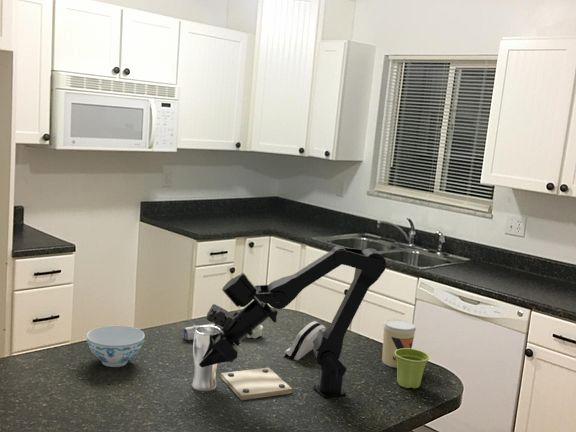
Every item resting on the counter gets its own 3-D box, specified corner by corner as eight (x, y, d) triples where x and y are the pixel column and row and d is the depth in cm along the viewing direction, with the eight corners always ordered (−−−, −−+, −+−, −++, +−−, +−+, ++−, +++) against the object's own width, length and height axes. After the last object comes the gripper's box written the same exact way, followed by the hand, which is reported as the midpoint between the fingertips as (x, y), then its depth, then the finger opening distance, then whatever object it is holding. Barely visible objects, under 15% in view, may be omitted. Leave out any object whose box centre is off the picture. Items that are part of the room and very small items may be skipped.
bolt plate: (291, 393, 162) (292, 387, 162) (241, 400, 156) (241, 394, 156) (268, 371, 175) (268, 366, 174) (220, 377, 168) (221, 372, 168)
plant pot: (384, 383, 174) (388, 352, 173) (402, 374, 181) (405, 345, 180) (414, 395, 168) (418, 363, 167) (431, 385, 175) (435, 355, 174)
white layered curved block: (304, 340, 202) (316, 314, 199) (316, 348, 200) (329, 322, 197) (281, 356, 187) (295, 328, 184) (295, 365, 185) (308, 337, 182)
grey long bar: (181, 325, 195) (259, 311, 204) (183, 345, 196) (260, 331, 205) (185, 330, 190) (264, 316, 199) (187, 351, 192) (265, 336, 201)
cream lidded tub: (390, 370, 184) (395, 330, 182) (373, 358, 192) (378, 319, 190) (417, 367, 187) (422, 328, 185) (399, 355, 196) (404, 318, 194)
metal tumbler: (187, 381, 164) (191, 325, 161) (213, 379, 166) (217, 324, 164) (194, 393, 157) (198, 335, 155) (221, 390, 160) (225, 333, 158)
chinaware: (132, 348, 182) (133, 323, 181) (151, 368, 170) (153, 340, 169) (78, 355, 174) (79, 328, 173) (95, 377, 162) (96, 348, 161)
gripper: (227, 285, 168) (182, 323, 168) (227, 307, 149) (176, 349, 150) (254, 316, 170) (210, 353, 170) (257, 341, 152) (207, 382, 152)
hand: (201, 358), depth 161 cm, fingers open, 9 cm apart
